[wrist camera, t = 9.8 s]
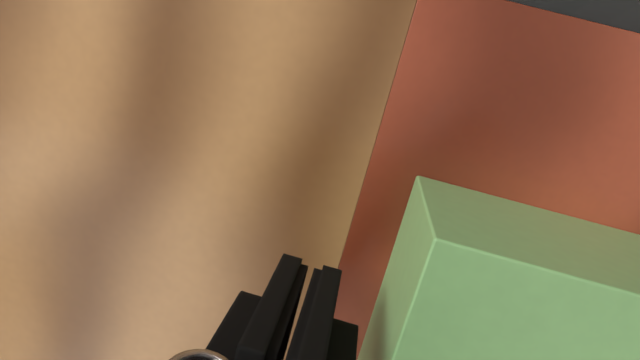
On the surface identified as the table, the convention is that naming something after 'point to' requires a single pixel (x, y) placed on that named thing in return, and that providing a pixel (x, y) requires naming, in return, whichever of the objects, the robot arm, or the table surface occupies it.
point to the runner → (276, 150)
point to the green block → (504, 283)
